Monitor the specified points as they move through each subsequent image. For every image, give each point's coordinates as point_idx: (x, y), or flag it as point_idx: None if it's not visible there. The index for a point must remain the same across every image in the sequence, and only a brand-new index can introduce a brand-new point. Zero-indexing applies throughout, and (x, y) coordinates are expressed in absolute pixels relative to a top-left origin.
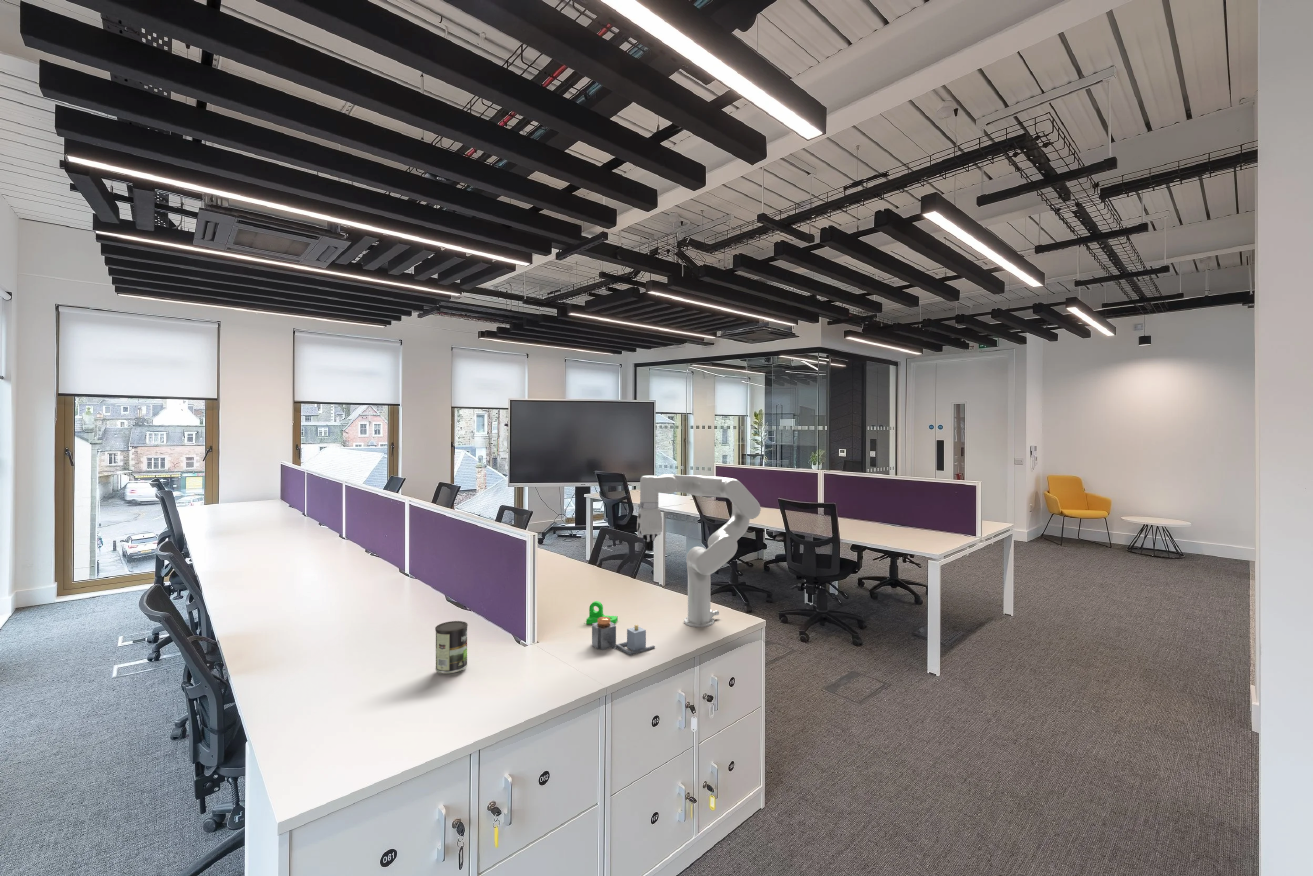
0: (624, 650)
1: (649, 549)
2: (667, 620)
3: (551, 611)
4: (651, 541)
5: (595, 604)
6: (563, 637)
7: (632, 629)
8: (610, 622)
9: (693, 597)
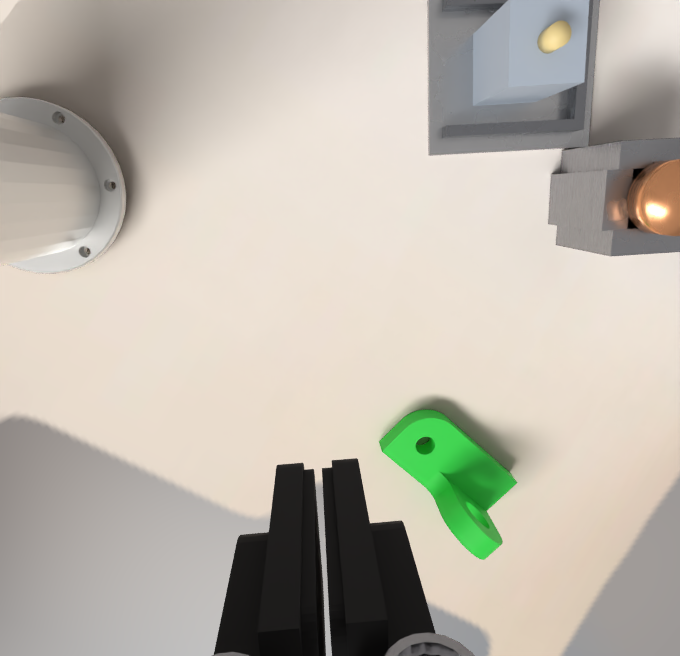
0: (587, 45)
1: (361, 483)
2: (169, 331)
3: (550, 650)
4: (303, 644)
5: (486, 530)
6: (669, 372)
7: (565, 56)
8: (610, 213)
9: (3, 150)
